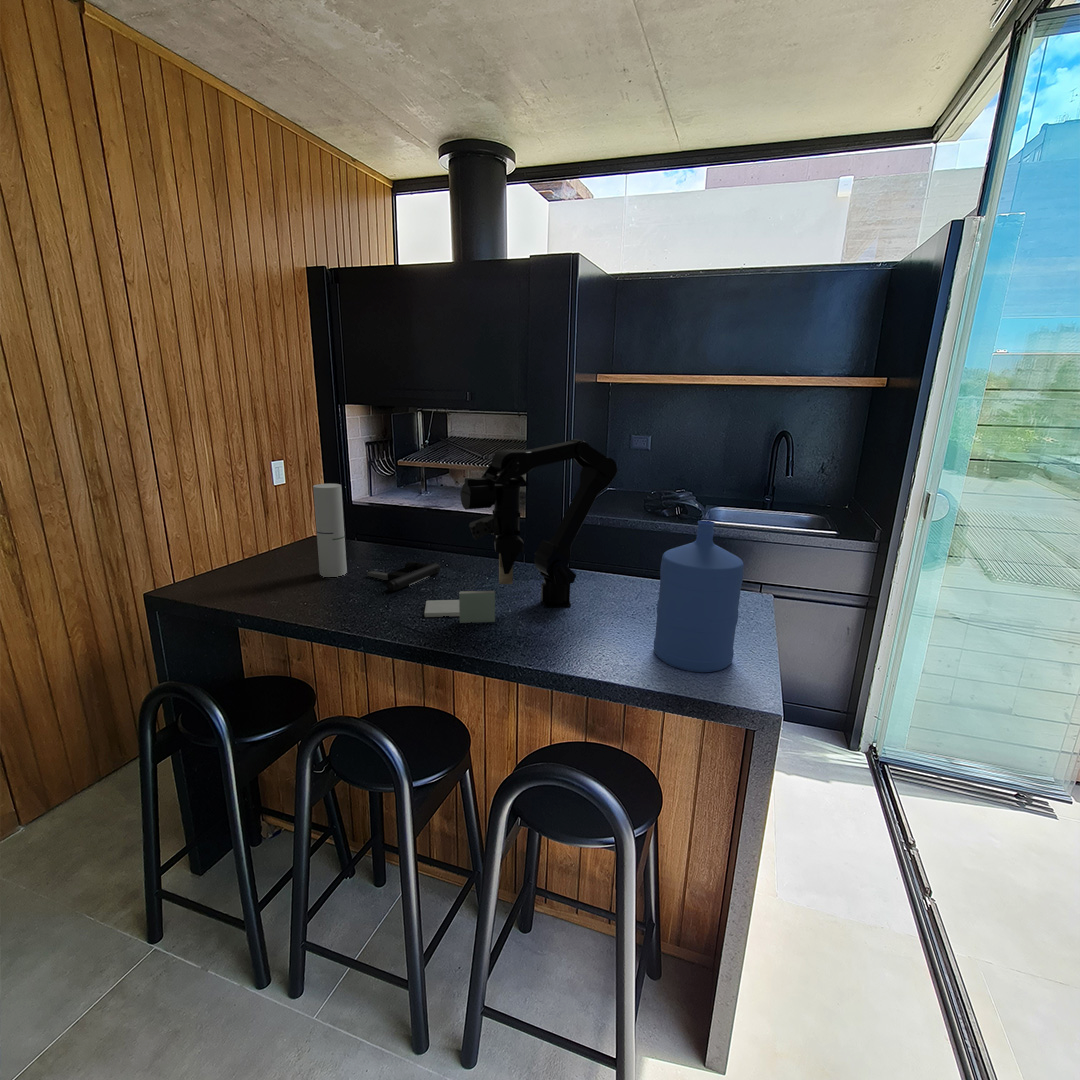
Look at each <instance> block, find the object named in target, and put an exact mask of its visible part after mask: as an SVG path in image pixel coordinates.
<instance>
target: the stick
mask: <svg viewBox="0 0 1080 1080" xmlns="http://www.w3.org/2000/svg"><path fill="white" fill-rule="evenodd" d="M513 574H514V565H513V566H512V568H511V570H510V573H509V574H504V570H503V564H502V558H501V554H500V553H498V583H499V585H513V582H514V577H513V576H514V575H513Z"/></svg>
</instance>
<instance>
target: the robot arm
mask: <svg viewBox="0 0 1080 1080" xmlns="http://www.w3.org/2000/svg"><path fill="white" fill-rule="evenodd" d="M568 460H574V461H575V462H576V463H577V465H579V466H580V467H581V471H580V475H579V486H578V489H577V491H576V493H575V494H574V496H573V498H572V501H571V502H570V504H569V506H568V507H567V510H566V512H565V513H564V516H563V517H562V519H561V522H560V523H559V525H558V527H557V529H556V531H555V532H554V534H553V536H552V537H551V538H550V539H549V540H548V541H546V540H545V539H542V540H541V541H540V543H539V546H538V548H537V549H536V551H535V552H533V554H534V555H535V556H534V559H533V562H534V565H535V568H536V569H537V570H538V571H539V574H540V575H541V576H542V577H543V582H542V583H541V584H540V600H541V602H542V603H543V604H544V607H545V608H557V607H558V608H560V607H562V608H563V607H571V606H572V603H571V601H570V599H571V598H570V597H571V584H574V583H575V580H576V577H577V575H576V573H575V572H574V571H573V570H572V569H571V568H570V567H569V564H570V561H571V558H572V557H571V556H572V555H571V552H572V545H573V543H574V541H575V539H576V537H577V535H578V533H579V531H580V529H581V527H582V525H583V524H584V521H585V520H586V518H587V517H588V514H589V512H590V510H591V508H592V506H593V505H594V502H595V501H596V499H597V497H598V495H599V494H600V493H601V492H603V491H604V490H605V489H607V488H608V487H609V486H610V484H611V483H612V482H613V480H614V479H615V477H616V476H617V473H618V467H617V463H616V461H615V460H614V459H613V458H611V457H609V456H608V457H607V456H605V455H604V454H603V453H601V452H600V451H598V450H596V449H595V448H594V447H592V446H591V445H589V443H587V442H586V441H585V440H582V439H576V438H574V439H573V438H572V439H570V440H568V441H564V442H559V443H553V444H550V445H549V444H548V445H545V446H540V447H539V446H538V447H535V448H531V449H515V448H513V449H511V448H510V449H500V450H497V451H495V452H494V454H493V455H492V457H491V462H490V464H489V466H488V467H487V468H486V470H485V472H484V473H483V474H482V476H481V477H480V478H479V477H478V478H474V477H473V478H472V477H465V478H464V483H463V485H462V486H461V491H460V494H459V495H460V501H461V505H462V508H463V509H465V510H477V509H489V508H490V509H491V508H492V506H494V508H493V509H492V513H491V514H492V515H489V516H485V517H482V518H480V519H476V520H473V521H471V522H470V523H469V524H468V527H469V529H470V533H471V534H472V537H473V539H474V540H476V541H477V540H479V539H481V538H482V537H485V536H488V535H490V534H491V535H492V536H495V537H492V541H493V542H492V543H493V544H494V545H493V547H494V550H495V551H494V552H495V553H498V554H499V553H500V554H501V558H502V564H503V570H504V574H509V573H510V570H511V568H512V566H513V567H514V564H515V562H516V560H517V558H518V556H519V554H520V553H521V554H523V553H525V543H524V540H523V539H522V538H521V537H520V535H521V530H520V518H521V515H522V514H521V511H520V508H521V507H520V504H521V503H520V502H521V497H520V496H521V488H522V487H523V488H526V487H529V485H530V483H529V482H527V480H525V478H524V477H523V476H524V475H526V474H528V473H530V472H531V471H532V470H534V469H535V468H538V467H542V466H547V465H551V464H555V463H559V462H563V461H568Z"/></svg>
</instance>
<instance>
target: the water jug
mask: <svg viewBox="0 0 1080 1080" xmlns="http://www.w3.org/2000/svg"><path fill="white" fill-rule="evenodd" d="M715 525H716V522H714V521H712V520H704V519H703V520H702V519H700V520H698V521H697V529H696V539H695V541H693V542H690V543H686V544H683V545H680V546H675V547H673V548H671V549H668V550H666V551H665V552H664V553H663V554H662V556H661V563H660V570H659V575H660V579H659V589H658V590H659V592H658V593H659V594H658V600H657V605H656V622H655V623H656V624H655V634H654V635H655V636H654V639H653V651H654V653H655V655H656V656H657V657H658V659H660V660H661V661H663V662H664V663H665V664H667V665H669V666H671V667H674V668H677V669H680V670H683V671H688V672H694V673H695V672H696V673H712V672H718V671H721V670H724V669H725V668H727V667H729V666H730V664H732V662H733V659H734V656H735V655H734V654H735V653H734V650H735V649H734V645H735V644H734V643H735V637H736V628H737V625H738V620H739V605H740V598H741V590H742V585H743V580H744V567H745V566H744V565H745V564H744V561H743V560H742V559H741V558H740V557H739V556H737V555H735V553H732V552H730V551H728V550H726V549H725V548H723V547H720V546H719V545H717V544H715V543H714V540H713V539H714V534H715V531H714V529H715V528H714V526H715Z"/></svg>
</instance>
